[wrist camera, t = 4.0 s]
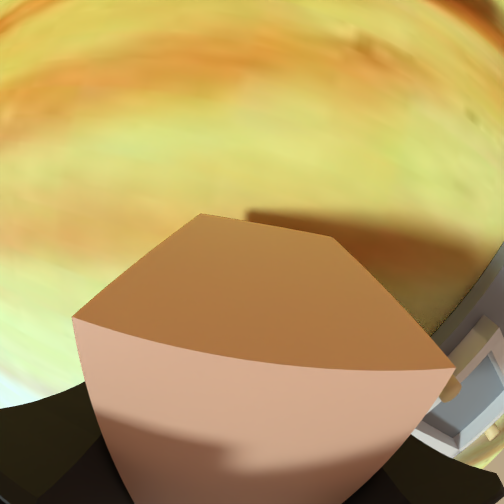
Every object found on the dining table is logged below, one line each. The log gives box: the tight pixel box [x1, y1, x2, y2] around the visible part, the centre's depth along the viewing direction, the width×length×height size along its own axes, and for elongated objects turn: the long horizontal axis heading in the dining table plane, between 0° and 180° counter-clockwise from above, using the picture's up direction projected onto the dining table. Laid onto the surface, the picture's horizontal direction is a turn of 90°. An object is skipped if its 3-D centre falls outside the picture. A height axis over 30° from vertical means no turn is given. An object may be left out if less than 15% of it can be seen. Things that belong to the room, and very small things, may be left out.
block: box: [72, 214, 456, 504], centre depth 7 cm, size 9×4×7 cm, turn 170°
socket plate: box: [411, 242, 504, 458], centre depth 12 cm, size 16×15×4 cm
